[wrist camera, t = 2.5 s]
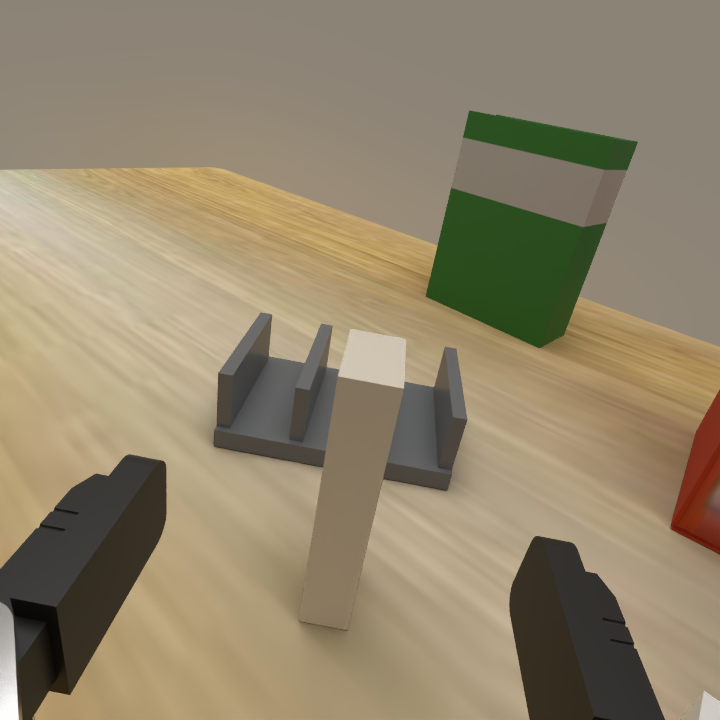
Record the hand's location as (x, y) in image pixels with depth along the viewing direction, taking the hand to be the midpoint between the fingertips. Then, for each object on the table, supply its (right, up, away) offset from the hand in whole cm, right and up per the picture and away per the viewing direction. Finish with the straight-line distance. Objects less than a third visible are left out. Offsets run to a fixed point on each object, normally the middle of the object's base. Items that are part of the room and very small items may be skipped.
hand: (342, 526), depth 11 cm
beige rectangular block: (-1, -9, +18) cm, 20 cm away
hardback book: (+19, +10, +60) cm, 63 cm away
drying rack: (-1, -2, +32) cm, 32 cm away
